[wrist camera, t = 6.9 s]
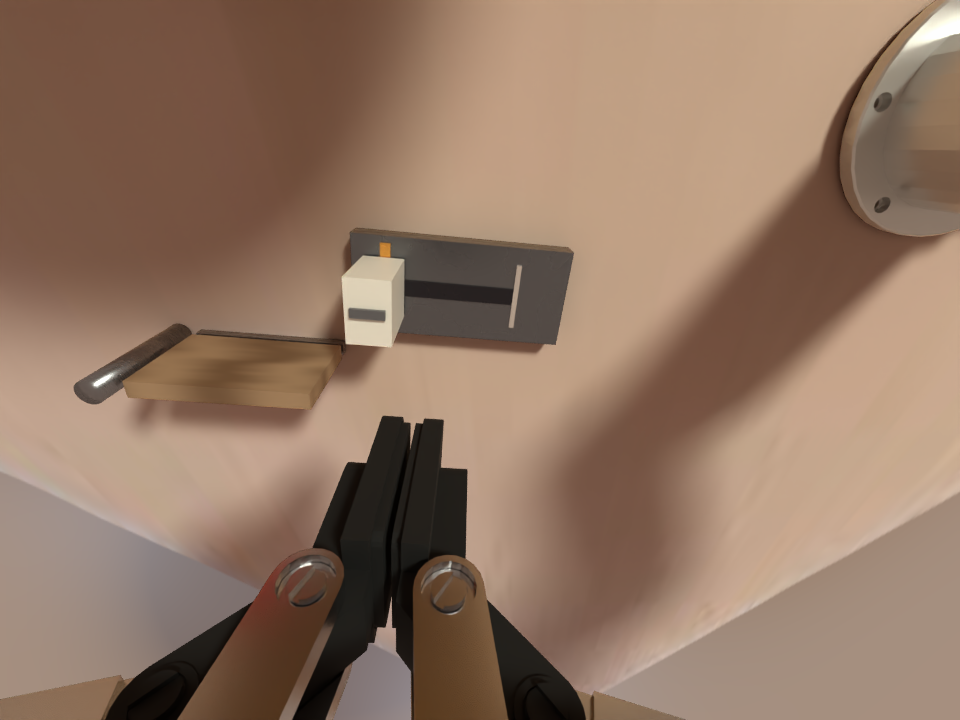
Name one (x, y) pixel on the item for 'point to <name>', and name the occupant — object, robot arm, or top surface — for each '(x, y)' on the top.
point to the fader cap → (373, 301)
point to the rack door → (238, 372)
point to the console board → (474, 284)
